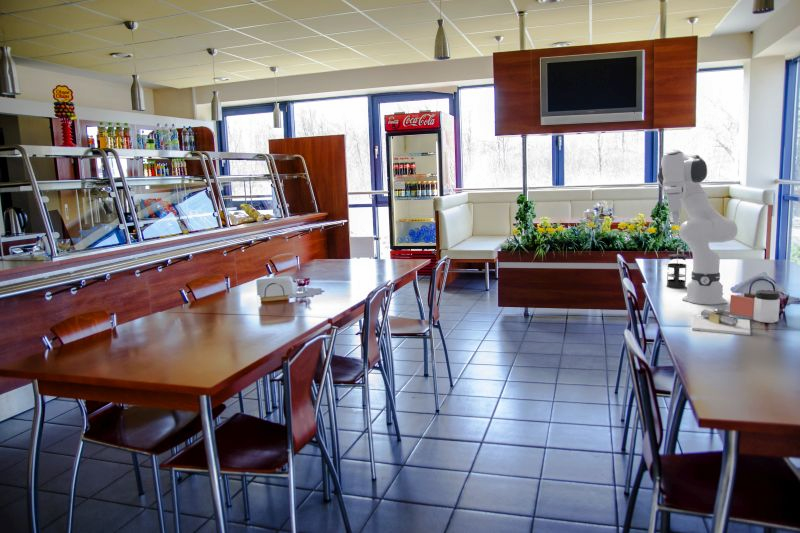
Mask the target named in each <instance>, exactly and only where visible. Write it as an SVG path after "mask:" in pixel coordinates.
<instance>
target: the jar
mask: <svg viewBox="0 0 800 533" xmlns="http://www.w3.org/2000/svg"><path fill="white" fill-rule="evenodd" d="M780 301H781V299H780V292H779V291H775V290H770V289H769V290H767V289H759V290H756V292H755V297H754V312H753V316H754V317H753V319H752V320H753V321H756V322H759V323H769V324H773V323H778V322H779V317H780V316H779V314H780V306H781V305H780V304H781V303H780Z"/></svg>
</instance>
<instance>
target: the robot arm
mask: <svg viewBox="0 0 800 533" xmlns="http://www.w3.org/2000/svg"><path fill="white" fill-rule="evenodd" d="M658 169H659V172H658V174H657V182H658V185H659V186H660V187H661V188H662V194H663V196H665V197H666V200H667V205H668V211H669V212H670V213H672V221H673V224H678V223H679V216H680V213H681V212H682V205H683V208H684V211H685V213H686V215H687V216H688V218H689V220H685V221H683V222H682V223H681V224H680V225H679V229H678V235H679V237H680V239H681V240H682V241H683V242H684V243H686V245H687V246H688V247H689V249H690V251H691V254H692V271H691V275H690V276H691V280H690V281H689V282H688V283H687V285H686V288H687V290H686V296H683V297H682V298H681V299H682V301H685V302H688V303H693V304H699V305H721V304H728V301H727V300H726V299H725V298H724V297H723V295H724V293H723V291H724V289H723V288H724V286H723V284H722V283H721V282H720V278H721V273H720V263H721V262H720V261H721V260H720V259H721V258H720V255H719V254H718V253H717V252H715V250H712V249H710V245H709V243H711V244H712V243H713V244H714V243H725V242H730V241H733V240H734V239H735V238H736V236H737V235H738V226H737V224H736V222H735V221H733V220H732V219H729V218H727V217H725V216H724V215H722V214H721V213H720V212H719V211H717V210H716V208H714V207H713V205H712V203H711V201H710V199H709V198H708V196H707V193H706V191H705V189H704V188H703V186H702V185H701V184H700V183H702V182H703V181H704V180H706V178H707V176H708V165H707V163H706V161H705V160H704V159H703V158H702V157H701V156H700V155H699V154H698V155H697V154H694V155H688V154H684V152H683V151H681V150H679V149H671V150H668V151H666V152H665V153H664V154H663V155H662V157H661V160H660V167H659V168H658ZM681 202H682V203H681Z"/></svg>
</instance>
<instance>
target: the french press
mask: <svg viewBox="0 0 800 533" xmlns="http://www.w3.org/2000/svg"><path fill="white" fill-rule="evenodd" d="M673 245H674V246H676V248H677V253H674V254H673V253H672V254H668V255H667V256H668V259H669V260H670V261H671V260H674V259H676V262H674V263H671V262H670V263H667V268H669V269H670V268H672V269H673V273H667V280H666V287H667V288H670V289H685V287H686V288H687V285H686V282H687V281H686V280H687V278H686V277H687V264H685V263H678V260H679V259H680V260H684V261H686V260H687V259H686V258H687V256H688V255H686V254H681V253H679V248H680V246H683V244H682V243H674V244H673ZM680 269H684V270H685V272H684V274H682V273H680ZM669 277H671V279H669ZM680 278H684V279H680Z"/></svg>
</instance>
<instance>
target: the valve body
mask: <svg viewBox="0 0 800 533" xmlns="http://www.w3.org/2000/svg"><path fill="white" fill-rule="evenodd" d="M700 316H702V317H705V318H708V319H709V321H711V322H714V323H718V324H721V323H726V324H729V325H733V326H735V325H737V323H738V319H739V318H738V317H735V316H732V315H727V314H718V313H714V311H712V310H708V309H702V310H701V312H700Z"/></svg>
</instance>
